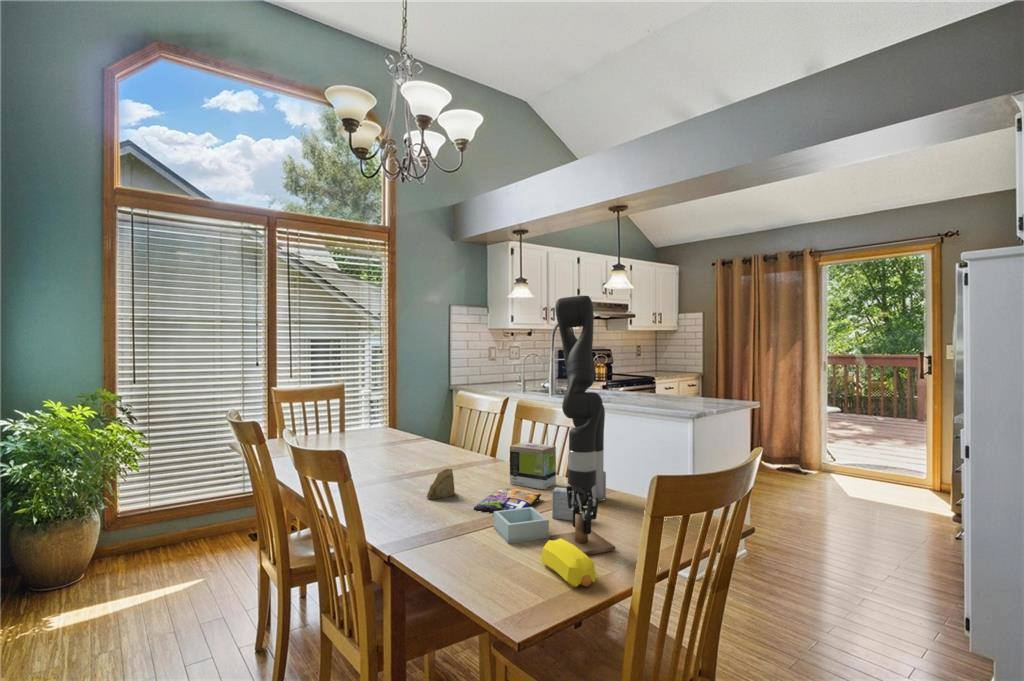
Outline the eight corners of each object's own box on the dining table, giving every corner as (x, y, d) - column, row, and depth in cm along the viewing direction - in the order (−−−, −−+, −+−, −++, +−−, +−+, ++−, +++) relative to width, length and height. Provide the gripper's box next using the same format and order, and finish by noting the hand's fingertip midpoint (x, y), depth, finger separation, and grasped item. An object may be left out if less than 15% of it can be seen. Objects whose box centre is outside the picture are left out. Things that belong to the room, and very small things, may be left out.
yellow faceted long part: (561, 557, 136) (535, 562, 133) (562, 530, 136) (535, 535, 133) (603, 587, 120) (574, 594, 117) (603, 557, 120) (574, 563, 117)
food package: (550, 501, 184) (550, 489, 183) (519, 525, 161) (519, 511, 161) (493, 493, 193) (493, 481, 193) (457, 514, 170) (457, 500, 170)
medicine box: (580, 517, 166) (580, 489, 166) (577, 521, 162) (577, 493, 162) (555, 514, 168) (555, 486, 168) (552, 518, 164) (552, 490, 164)
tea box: (556, 484, 202) (556, 445, 202) (543, 490, 194) (543, 449, 194) (522, 478, 211) (522, 440, 210) (508, 484, 202) (509, 445, 202)
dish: (531, 523, 160) (531, 506, 160) (548, 537, 149) (548, 519, 148) (493, 528, 155) (493, 511, 155) (508, 543, 144) (508, 525, 144)
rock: (425, 495, 179) (455, 490, 181) (423, 472, 184) (452, 467, 186) (428, 506, 188) (456, 501, 189) (426, 483, 193) (453, 479, 194)
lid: (590, 532, 152) (591, 505, 152) (615, 549, 139) (615, 519, 139) (549, 538, 147) (549, 510, 147) (570, 556, 135) (571, 526, 135)
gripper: (608, 472, 138) (607, 538, 138) (581, 459, 151) (581, 519, 151) (582, 474, 135) (582, 541, 135) (557, 462, 148) (557, 523, 149)
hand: (581, 529), depth 143 cm, fingers open, 5 cm apart
